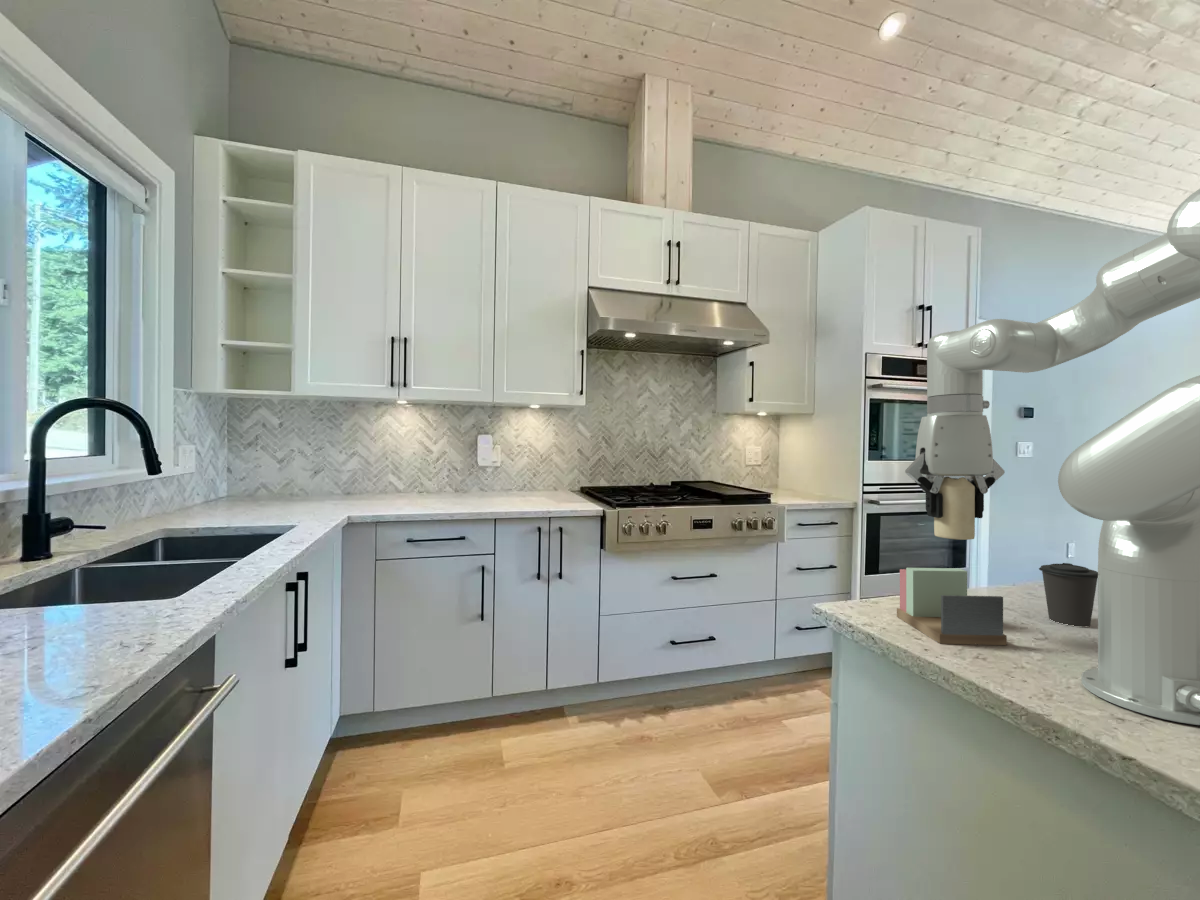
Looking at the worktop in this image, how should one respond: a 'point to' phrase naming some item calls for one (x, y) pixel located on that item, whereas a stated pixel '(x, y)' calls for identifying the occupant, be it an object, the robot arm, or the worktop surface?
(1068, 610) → the coffee cup
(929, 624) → the brown wooden board
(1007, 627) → the worktop surface
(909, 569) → the books
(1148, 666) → the robot arm
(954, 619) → the bookend
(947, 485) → the candle
